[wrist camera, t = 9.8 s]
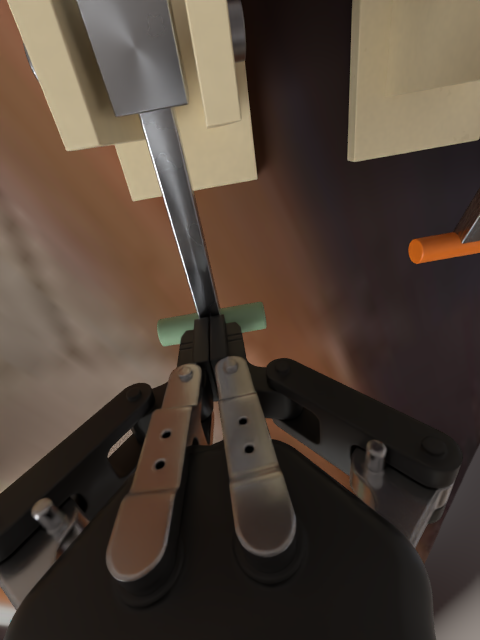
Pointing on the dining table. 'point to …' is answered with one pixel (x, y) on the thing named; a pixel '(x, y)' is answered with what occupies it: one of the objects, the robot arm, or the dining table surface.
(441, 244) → the lever
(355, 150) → the bracket
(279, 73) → the dining table surface
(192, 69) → the bracket
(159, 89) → the lever
